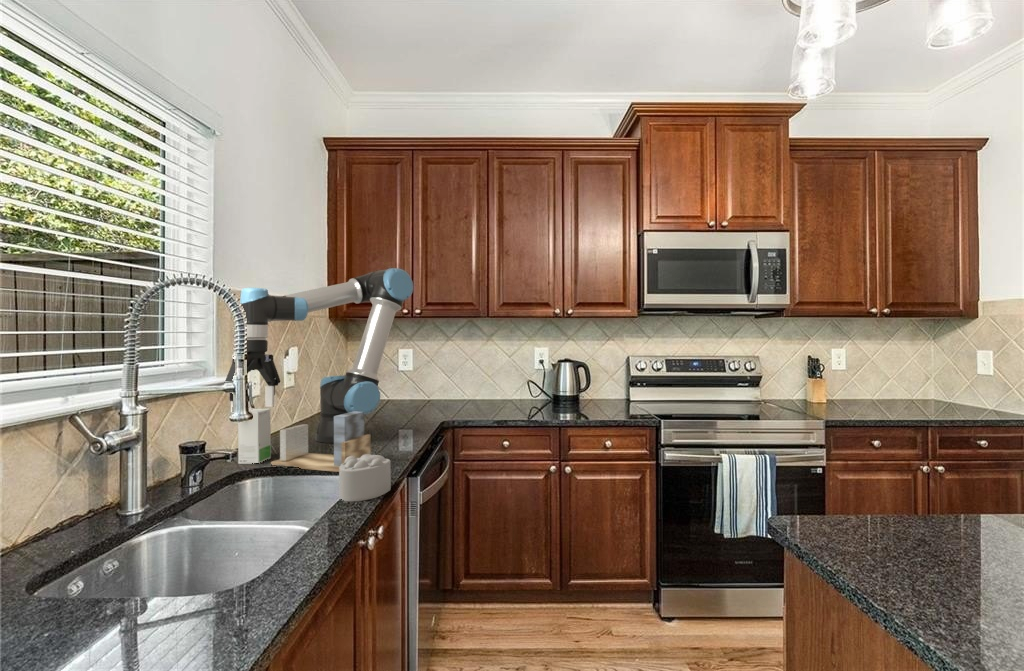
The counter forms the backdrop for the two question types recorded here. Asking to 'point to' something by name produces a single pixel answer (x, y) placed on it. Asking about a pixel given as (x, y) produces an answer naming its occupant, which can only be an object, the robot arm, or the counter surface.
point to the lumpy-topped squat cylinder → (364, 477)
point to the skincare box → (255, 438)
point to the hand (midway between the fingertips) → (253, 409)
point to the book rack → (337, 445)
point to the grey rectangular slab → (293, 442)
